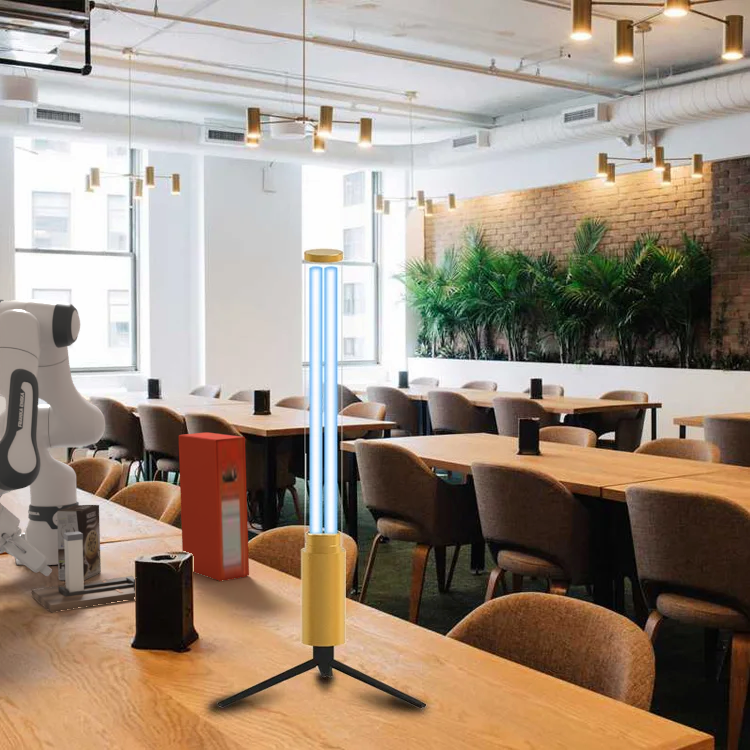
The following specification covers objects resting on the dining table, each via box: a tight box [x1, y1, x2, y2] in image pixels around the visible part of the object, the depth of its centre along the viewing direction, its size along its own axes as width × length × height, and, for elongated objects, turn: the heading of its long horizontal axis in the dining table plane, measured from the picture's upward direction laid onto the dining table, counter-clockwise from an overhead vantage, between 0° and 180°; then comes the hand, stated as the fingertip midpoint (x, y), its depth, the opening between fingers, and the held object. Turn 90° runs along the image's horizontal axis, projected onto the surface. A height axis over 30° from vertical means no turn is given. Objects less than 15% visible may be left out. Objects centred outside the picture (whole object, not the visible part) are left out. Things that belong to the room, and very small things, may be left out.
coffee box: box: [57, 504, 102, 581], centre depth 242 cm, size 9×6×16 cm
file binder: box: [178, 431, 250, 582], centre depth 243 cm, size 8×17×32 cm, turn 38°
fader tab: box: [63, 531, 85, 592], centre depth 221 cm, size 3×3×12 cm
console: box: [31, 575, 135, 613], centre depth 223 cm, size 16×22×4 cm
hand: (48, 572), depth 218 cm, fingers closed
